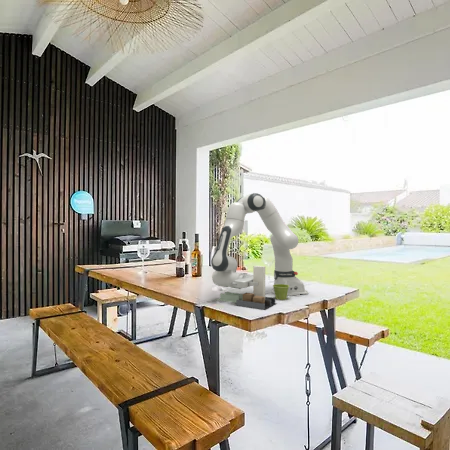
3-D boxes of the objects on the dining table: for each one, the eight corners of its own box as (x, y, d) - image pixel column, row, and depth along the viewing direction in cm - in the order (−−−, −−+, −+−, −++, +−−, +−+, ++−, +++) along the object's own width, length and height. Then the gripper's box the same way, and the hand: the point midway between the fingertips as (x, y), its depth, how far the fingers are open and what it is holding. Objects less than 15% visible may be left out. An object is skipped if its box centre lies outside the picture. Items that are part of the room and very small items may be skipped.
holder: (226, 297, 210) (226, 290, 210) (247, 300, 203) (247, 293, 203) (216, 301, 200) (216, 294, 200) (237, 305, 193) (237, 297, 192)
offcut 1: (246, 303, 191) (246, 292, 191) (254, 304, 189) (254, 293, 188) (242, 305, 188) (242, 293, 188) (251, 306, 185) (251, 295, 185)
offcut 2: (256, 305, 188) (256, 295, 188) (264, 306, 186) (264, 296, 185) (252, 306, 185) (252, 297, 184) (261, 307, 182) (261, 298, 182)
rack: (247, 301, 201) (247, 294, 201) (277, 305, 192) (277, 298, 191) (234, 307, 187) (234, 299, 187) (265, 312, 178) (265, 304, 178)
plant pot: (280, 303, 197) (281, 287, 196) (269, 300, 204) (269, 285, 204) (292, 301, 202) (292, 286, 202) (280, 297, 210) (281, 283, 210)
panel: (255, 301, 195) (255, 265, 195) (265, 303, 192) (265, 266, 192) (253, 302, 193) (253, 266, 193) (263, 304, 190) (263, 267, 190)
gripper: (229, 277, 190) (252, 280, 183) (246, 272, 207) (268, 274, 200) (229, 289, 190) (252, 292, 183) (246, 283, 208) (268, 285, 201)
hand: (260, 283), depth 192 cm, fingers open, 6 cm apart
